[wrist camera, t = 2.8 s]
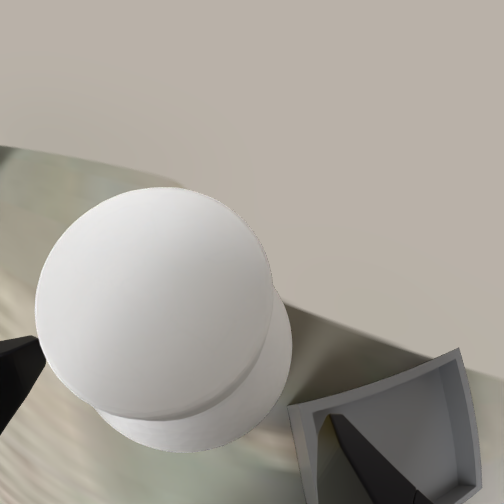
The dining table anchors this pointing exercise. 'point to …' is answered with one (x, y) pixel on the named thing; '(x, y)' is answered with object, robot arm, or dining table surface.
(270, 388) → the supplement bottle
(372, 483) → the robot arm
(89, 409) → the dining table surface
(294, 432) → the tray
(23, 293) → the dining table surface
